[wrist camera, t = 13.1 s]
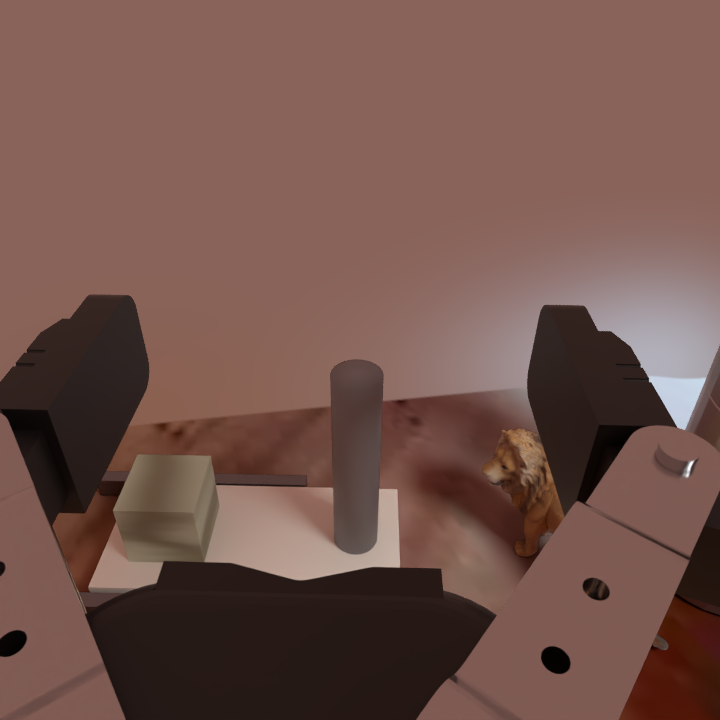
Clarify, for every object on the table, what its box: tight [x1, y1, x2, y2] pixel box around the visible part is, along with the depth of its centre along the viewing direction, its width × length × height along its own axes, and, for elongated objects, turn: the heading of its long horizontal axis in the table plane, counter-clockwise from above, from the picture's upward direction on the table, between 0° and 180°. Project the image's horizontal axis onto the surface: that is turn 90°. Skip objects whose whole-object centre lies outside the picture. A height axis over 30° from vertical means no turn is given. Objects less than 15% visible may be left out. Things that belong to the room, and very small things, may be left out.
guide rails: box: [79, 471, 307, 613], centre depth 44 cm, size 16×12×2 cm
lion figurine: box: [482, 428, 668, 650], centre depth 41 cm, size 15×5×9 cm, turn 40°
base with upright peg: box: [88, 360, 400, 593], centre depth 40 cm, size 20×9×16 cm, turn 89°
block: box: [113, 454, 220, 563], centre depth 42 cm, size 5×5×5 cm
